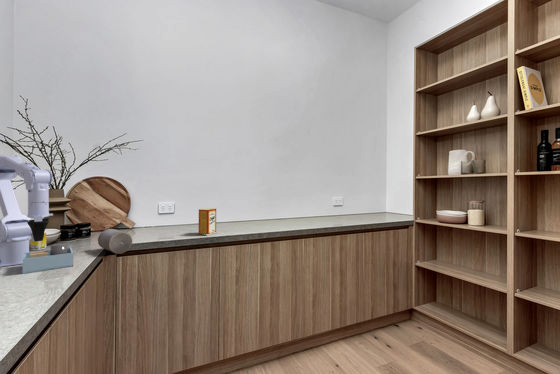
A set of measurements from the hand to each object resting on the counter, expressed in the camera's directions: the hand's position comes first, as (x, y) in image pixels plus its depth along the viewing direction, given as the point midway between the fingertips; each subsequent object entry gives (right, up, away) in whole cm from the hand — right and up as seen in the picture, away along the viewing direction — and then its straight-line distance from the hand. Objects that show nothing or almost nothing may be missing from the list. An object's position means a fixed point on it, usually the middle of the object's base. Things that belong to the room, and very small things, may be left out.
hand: (38, 239), depth 99 cm
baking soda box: (+43, -10, +70) cm, 83 cm away
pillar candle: (+7, -5, +30) cm, 31 cm away
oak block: (0, -10, 0) cm, 10 cm away
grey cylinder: (+4, -10, +4) cm, 11 cm away
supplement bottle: (-24, -10, +27) cm, 38 cm away
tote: (+2, -10, +2) cm, 11 cm away
